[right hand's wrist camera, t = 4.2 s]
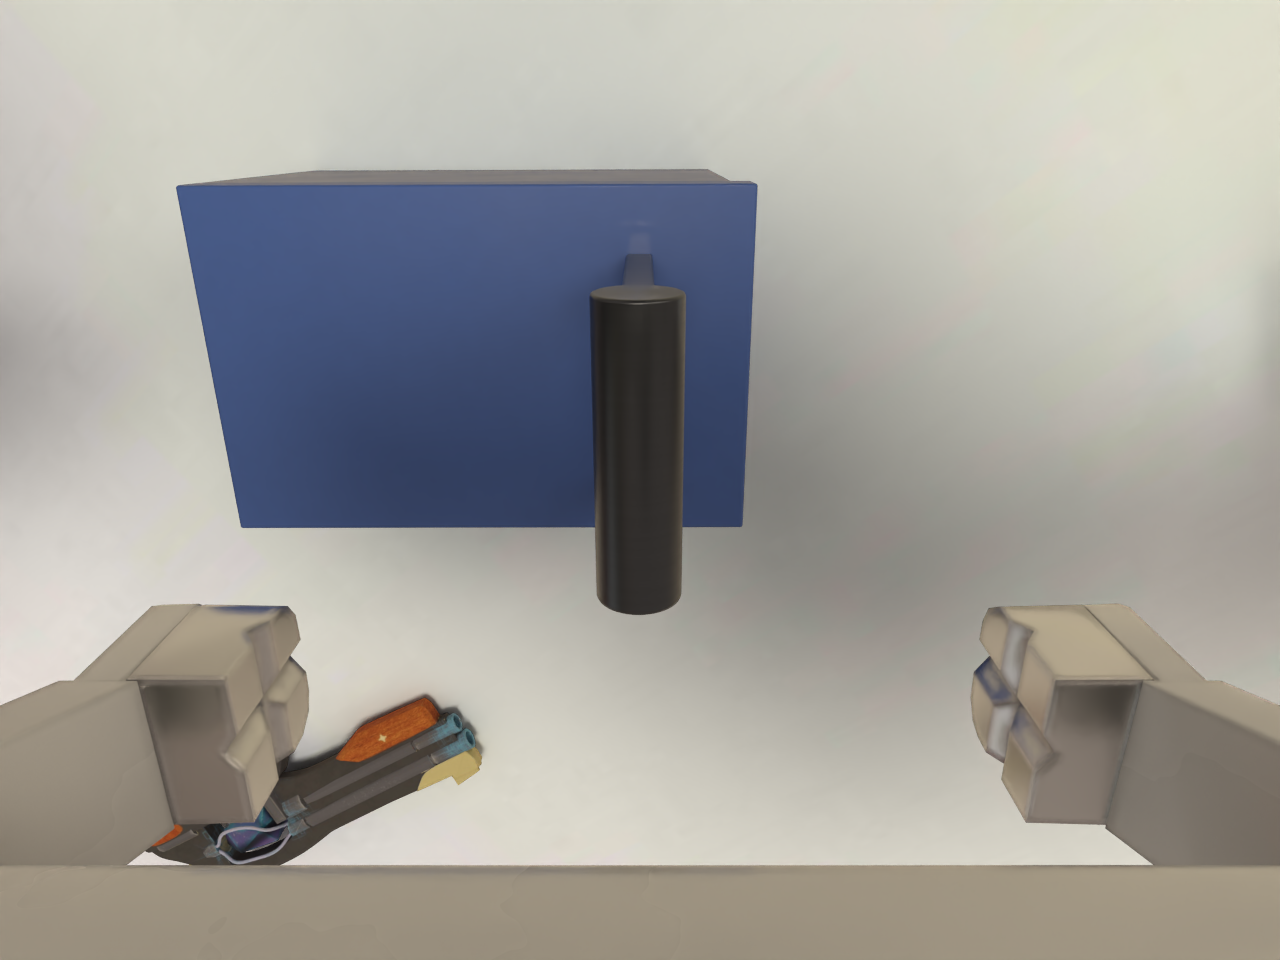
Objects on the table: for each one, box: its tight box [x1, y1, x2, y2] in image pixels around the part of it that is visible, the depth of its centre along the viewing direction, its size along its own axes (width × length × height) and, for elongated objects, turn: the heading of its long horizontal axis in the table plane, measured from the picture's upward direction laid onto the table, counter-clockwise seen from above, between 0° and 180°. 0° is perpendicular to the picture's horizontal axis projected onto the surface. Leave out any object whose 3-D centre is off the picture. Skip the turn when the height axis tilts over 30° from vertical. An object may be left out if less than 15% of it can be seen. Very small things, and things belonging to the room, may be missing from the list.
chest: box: [205, 169, 729, 183], centre depth 30 cm, size 15×10×9 cm
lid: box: [176, 181, 757, 615], centre depth 21 cm, size 15×10×9 cm, turn 90°
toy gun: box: [146, 698, 482, 865], centre depth 41 cm, size 3×19×10 cm
